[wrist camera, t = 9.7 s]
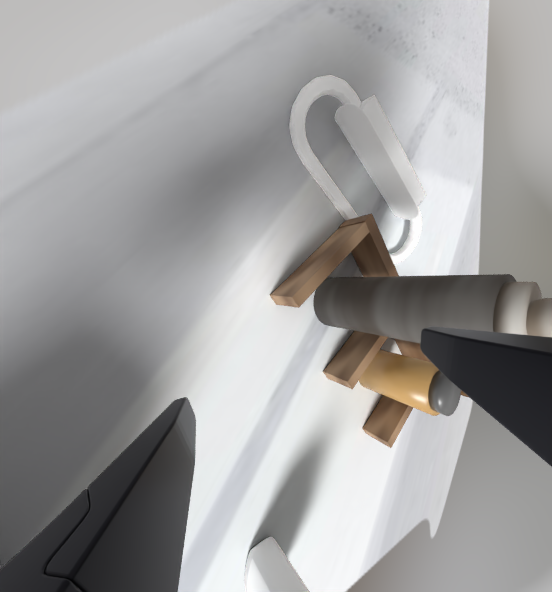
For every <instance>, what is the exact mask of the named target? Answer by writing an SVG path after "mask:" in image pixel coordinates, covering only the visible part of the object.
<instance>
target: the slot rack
mask: <svg viewBox="0 0 552 592" xmlns="http://www.w3.org/2000/svg"><path fill="white" fill-rule="evenodd" d="M350 252H351V253H352V255H353V257H354V259H355V261H356V263H357V265H358V267H359V269H360V271H361V273H362V275H363V277H392V276H399V275H398V273H397V271H396V268H395V266H394V264H393V261H392V259H391V257H390V254H389V252H388V250H387V248H386V245H385V243H384V241H383V238H382V236H381V234H380V231H379V229H378V227H377V224H376V222H375V220H374V217H373V215H372V214H368V215H365V216H361V217H357V218H353V219H349V220H345V221H344V222H343V223H342V224H341V225H340V226H339V229H338V230H336V231H335V232H334V233H333V234H332V235H331V236H330V237H329V238H328V239H327V240H326V241H325V242H324V243H323V244H322V245H321V246H320V247H319V248H318V249H317V250H316V251H315V252H314V253H313V254H312V255H311V256H310V257H309V258H308V259H307V260H306V261H305V262H304V263H302V264H301V265H300V266H299V267H298V268H297V269H296V270H295V271H294V272H293V273H292V274H291V275H290V276H289V277H288V278H287V279H286V280H285V281H284V282H283V283H282V284H281V285H280V286H279V287H278V288H277V289H276V290H275V291H274V292H273V293H272V294H271V295H270V296H271V298H272V299H273V300H274V302H275V303H276V304H277V305H284V306H291V307H300V306H301V305H302V304H303V303H304V302H305V300H306V299H307V298H308V297H309V296H310V295H311V294H312V293H313V292H314V291H315V290H316V289H317V288H318V287H319V285H320V284H321V283H322V282H323V281H324V280H325V279H326V278H327V277H328V276H329V275H330V274H331V273H332V272H333V271H334V269H335V268H336V267H337V266H338V265H339V264H340V263H341V262H342V261H343V260H344V259H345V258H346V257H347V256H348V254H349V253H350ZM387 338H388V337H384V336H379V335H374V334H369V333H364V332H359V331H354V332H353V333H352V335H351V336H350V337H349V339H348V340H347V341H346V342H345V344H344V345H343V346H342V348H341V349H340V350H339V352H338V353H337V354H336V355H335V357H334V358H333V359H332V361H331V362H330V363H329V365H328V366H327V367H326V368H325V370H324V371H323V372H324V374H325V375H326V377H327V378H328V379H330V380H333V381H335V382H337V383H340V384H342V385H344V386H346V387H349V388H351V389H353V388H354V386H355V385H356V383H357V382H358V380H359V379H360V377H361V376H362V374H363V373H364V372H365V370H366V369H367V367H368V366H369V364H370V363H371V361H372V360H373V358H374V357H375V356H376V354H377V353H378V351H379V350H380V348H381V347H382V345H383V344H384V342H385V341H386V340H387ZM394 339H395V338H394ZM395 341H396V343H397V345H398V347H399V349H400V351H401V353H402V355H404V356H408V357H412V358H416V359H420V360H424V361H428V362H431V361H430V360H429V359H428V358H427V357H426V356H425V355H424V354H423V353H422V351H421V348H420V343H415V342H410V341H405V340H400V339H395ZM412 409H413V407H411V406H409V405H406V404H404V403H401V402H399V401H397V400H394V399H392V398H389V397H387V396H384V395H383V396H382V398H381V400H380V401H379V403H378V404H377V406H376V408H375V409H374V411H373V412H372V414H371V416H370V417H369V419H368V420H367V422H366V424H365V425H364V427H363V430H364V431H365V433H366V434H368V435H370V436H371V437H373V438H375V439H376V440H378V441H380V442H382V443H383V444H385V445H387V446H388V447H390V448H391V447H392V445H393V444H394V442H395V440H396V438H397V436H398V435H399V433H400V431H401V429H402V427H403V425H404V424H405V422H406V420H407V418H408V416H409V415H410V413H411V411H412Z"/></svg>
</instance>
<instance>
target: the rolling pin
mask: <svg viewBox="0 0 552 592" xmlns="http://www.w3.org/2000/svg"><path fill="white" fill-rule="evenodd" d="M324 95H330V96H333V97H336V98H337V99H338V100H339V101H340V102H341V103H342V104H343V105H342V106H340V107H339V108H338V109H337V110H336V113H335V116H334V117H335V121H336V122H337V124H338V125H339V127H340V129H341V130H342V132H343V133H344V135H345V137H346V138H347V140H348V142H349V143H350V145H351V146H352V148H353V150H354V151H355V153H356V154H357V156H358V158H359V159H360V161H361V162H362V164H363V166H364V167H365V169H366V171H367V172H368V174H369V175H370V177H371V179H372V180H373V182H374V183H375V185H376V187H377V188H378V190H379V191H380V193H381V195H382V196H383V198H384V200H385V201H386V203H387V204H388V206H389V208H390V209H391V211H392V212H393V214H394V215H395V216H396V217H398V218H401V219H409V220H410V231H409V234H408V237H407V240H406V241H405V243H404V244H403V246H402V247H401V248H400V249H399V250H398V251H397V252H394V253H392V254H390V253H389V254H390V257H391V259H392V261H393V264H394V265H395V264H397V263H400V262H402V261H403V260H405V259H406V258H407V257H408V256H409V255H410V254H411V253H412V251H413V250H414V248H415V246H416V245H417V243H418V241H419V238H420V234H421V231H422V216H421V212H420V208H419V204H420V203H421V202H422V200H423V199H424V198H425V197H426V193H425V191H424V189H423V187H422V185H421V183H420V181H419V179H418V177H417V175H416V173H415V171H414V169H413V167H412V166H411V164H410V162H409V160H408V158H407V156H406V154H405V152H404V150H403V148H402V146H401V144H400V142H399V140H398V138H397V136H396V135H395V133H394V131H393V129H392V127H391V125H390V123H389V121H388V119H387V117H386V115H385V113H384V111H383V109H382V107H381V106H380V104H379V102H378V100H377V98H376V96H375V94H374V95H372V96H371V97H369V98H367V99H366V100H364V101H362V102H361V100H360V99H359V97H358V95H357V94H356V92H355V91H354V90H353V89H352V87H351V86H350V85H349V84H348V83H347V82H346V81H345V80H344V79H341V78H338V77H336V76H333V75H331V74H330V75H325V76H320V77H316V78H314V79H313V80H312V81H310V82H309V83H308V84H307V85H305V86H304V87H303V88H302V89H301V91H300V93H299V95H298V96H297V98H296V100H295V102H294V104H293V106H292V109H291V116H290V123H289V129H290V134H291V139H292V144H293V147H294V149H295V151H296V153H297V154H298V156H299V158H300V160H301V162H302V163H303V165H304V166H305V167H306V169H307V170H308V171H309V173H310V174H311V175H312V177H313V178H314V179H315V181H316V182H317V183H318V185H319V186H320V187H321V189H322V190H323V191H324V193H325V194H326V195H327V197H328V198H329V199H330V201H331V202H332V203H333V205H334V206H335V207H336V209H337V210H338V211H339V213H340V214H341V215H342V217H343V218H344V219H345V220H349V219H353V218H357V217H359V216H358V215H357V213H356V212H355V210H354V209H353V208H352V206H351V205H350V203H349V202H348V201H347V199H346V198H345V196H344V195H343V194H342V192H341V191H340V189H339V188H338V187H337V185H336V184H335V182H334V181H333V180H332V178H331V177H330V175H329V174H328V172H327V171H326V170H325V168H324V167H323V165H322V164H321V163H320V161H319V160H318V158H317V157H316V156H315V154H314V153H313V151H312V149H311V147H310V145H309V143H308V141H307V137H306V130H305V122H306V116H307V112H308V110H309V108H310V106H311V105H312V103H313V102H314V101H315V100H317V99H318V98H319V97H320V96H324Z"/></svg>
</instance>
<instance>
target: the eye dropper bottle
mask: <svg viewBox="0 0 552 592" xmlns="http://www.w3.org/2000/svg"><path fill="white" fill-rule="evenodd" d="M244 582H245V591H246V592H309V590H308V589H307V587H306V586H305V584H304V583H303V581H302V580H301V578H300V577H299V575H298V574H297V572H296V570H295V569H294V567H293V566H292V564H291V563H290V561H289V560H288V558H287V557H286V555H285V554H284V552H283V551H282V549H281V548H280V546H279V545H278V543H277V542H276V540H275V539H274V538H273V537H271V536H270V537H268V538H266V539H265V540H263V541H262V542H260V543H259V544H257V545H256V546H255V547H253V548H252V549H251V551H250V553H249V555H248V559H247V563H246V568H245V577H244Z"/></svg>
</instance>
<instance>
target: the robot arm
mask: <svg viewBox="0 0 552 592" xmlns="http://www.w3.org/2000/svg"><path fill="white" fill-rule="evenodd" d="M420 348H421V351H422V353H423V354H424V355H425V356H426V357H427V358H428V359H429V360H430V361H431V362H432V363H433V364H434V365H435V366H436V367H437V368H438V369H439V370H440V371H441V372H442V373H443V374H444V375H445V376H446V377H447V378H448V379H449V380H450V381H451V382H452V383H453V384H454V385H456V386H457V387H458V388H459V389H460V390H462V391H463V392H464V393H465V394H466V395H467V396H469V397H470V398H471V399H472V400H473V401H475V402H476V403H477V404H478V405H479V406H480V407H482V408H483V409H484V410H485V411H486V412H488V413H489V414H490V415H491V416H492V417H494V418H495V419H496V420H497V421H498V422H499V423H501V424H502V425H503V426H504V427H505V428H507V429H508V430H509V431H510V432H511V433H512V434H514V435H515V436H516V437H517V438H518V439H520V440H521V441H522V442H523V443H524V444H526V445H527V446H528V447H529V448H530V449H531V450H533V451H534V452H535V453H536V454H538V455H539V456H540V457H541V458H542V459H543V460H545V461H546V462H547V463H548V464H549V465H551V466H552V337H542V336H531V335H521V334H510V333H500V332H489V331H478V330H468V329H457V328H446V327H436V326H431V327H427V328H424V329H422V331H421V340H420ZM195 437H196V419H195V414H194V412H193V409H192V407H191V405H190V402H189V400H188V398H186V397H184V398H180V399H177V400H175V401H173V402H172V403H171V404H170V405H169V406H168V407H167V408H166V409H165V410H164V411H163V412H162V413H161V414H160V415H159V416H158V417H157V418H156V419H155V420H154V421H153V422H152V423H151V424H150V425H149V426H148V427H147V428H146V429H145V430H144V431H143V432H142V433H141V434H140V435H139V436H138V437H137V438H136V439H135V440H134V441H133V442H132V443H131V444H130V445H129V446H128V447H127V448H126V449H125V450H124V451H123V452H122V453H121V454H120V455H119V456H118V457H117V458H116V459H115V460H114V461H113V462H112V463H111V464H110V465H109V466H108V467H107V468H106V469H105V470H104V471H103V472H102V473H101V474H100V475H99V476H98V477H97V478H96V479H95V480H94V481H93V482H92V483H91V484H90V485H89V487H88V489H85V490H84V491H83V492H82V493H81V494H80V495H79V496H78V497H77V498H76V499H75V500H74V501H73V502H72V503H71V504H70V505H69V506H68V507H67V508H66V509H65V510H64V511H63V512H62V513H60V514H59V515H58V516H57V517H56V518H55V519H54V520H53V521H52V522H51V523H50V524H49V525H48V526H47V527H46V528H45V529H44V530H43V531H42V532H41V533H39V534H38V535H37V536H36V537H35V538H34V539H33V540H32V541H31V542H30V543H29V544H28V545H26V546H25V547H24V548H23V549H22V550H21V551H20V552H19V553H18V554H17V555H16V556H14V557H13V558H12V559H11V560H10V561H9V562H8V563H7V564H6V565H5V566H4V567H2V568H1V569H0V592H178V584H179V577H180V570H181V562H182V555H183V548H184V540H185V533H186V525H187V518H188V511H189V503H190V496H191V488H192V481H193V474H194V466H195Z"/></svg>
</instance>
